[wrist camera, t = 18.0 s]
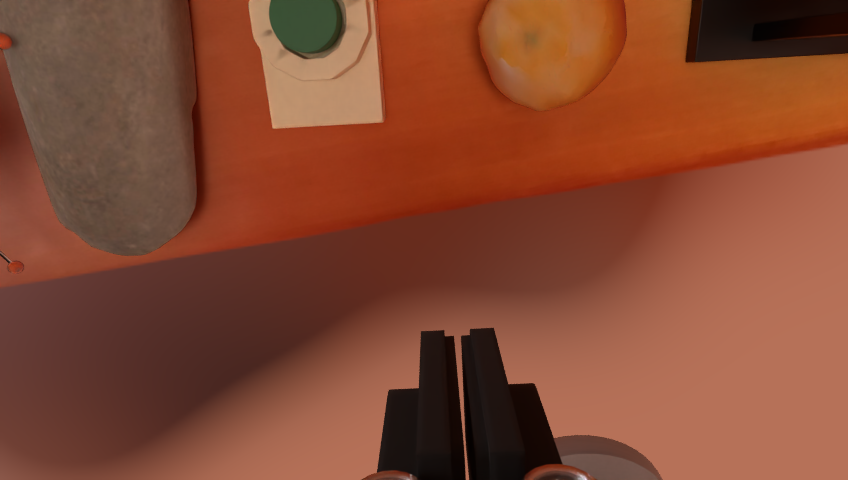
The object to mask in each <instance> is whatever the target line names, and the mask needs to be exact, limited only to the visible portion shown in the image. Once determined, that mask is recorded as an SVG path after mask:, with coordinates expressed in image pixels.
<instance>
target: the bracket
mask: <svg viewBox="0 0 848 480" xmlns="http://www.w3.org/2000/svg"><path fill="white" fill-rule="evenodd" d="M845 53H848V0H693V2H692V11H691V20H690V29H689V37H688V46H687V55H686V62H706V61H723V60H741V59H758V58H775V57H793V56H810V55H827V54H845Z"/></svg>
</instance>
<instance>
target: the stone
mask: <svg viewBox="0 0 848 480" xmlns="http://www.w3.org/2000/svg"><path fill="white" fill-rule="evenodd" d="M0 32H2V33H5V34H7V35H8V36H9V37H10V38H11V39H12V47H11V48H9V49H7V50H3V52H4V56H5V59H6V63H7V66H8V70H9V73H10V77H11V80H12V84H13V87H14V91H15V94H16V97H17V101H18V104H19V107H20V110H21V114H22V117H23V120H24V123H25V126H26V130H27V133H28V136H29V139H30V142H31V145H32V148H33V151H34V154H35V157H36V160H37V163H38V166H39V169H40V172H41V175H42V178H43V181H44V184H45V186H46V189H47V192H48V195H49V198H50V201H51V204H52V206H53V209H54V211H55V214H56V216H57V218H58V220H59V221H60V223H61V224H63V225H64V226H65V227H66V228H67V229H69V230H71V231H73V232H74V233H75V234H77V235H78V236H79V237H80V238H81V239H83V240H84V241H85V242H86V243H88V244H89V245H90V246H91V247H94V248H97V249H100V250H103V251H106V252H109V253H113V254H118V255H125V256H134V255H145V254H148V253H150V252H152V251H154V250H156V249H158V248H160V247H161V246H163V245H164V244H165V243H167V242H168V241H169V240H171V239H172V238H173V237H175V236H176V235H177V234H178V233H179V232H180V231H181V230H182V229H183V228H184V227H185V226H186V224H187V223H188V221H189V220H190V219H191V216H192V213H193V211H194V209H195V206H196V198H197V185H196V167H195V154H194V134H193V122H192V108H193V106H194V104H195V102H196V98H197V92H196V75H195V63H194V52H193V41H192V31H191V21H190V13H189V6H188V0H0Z"/></svg>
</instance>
